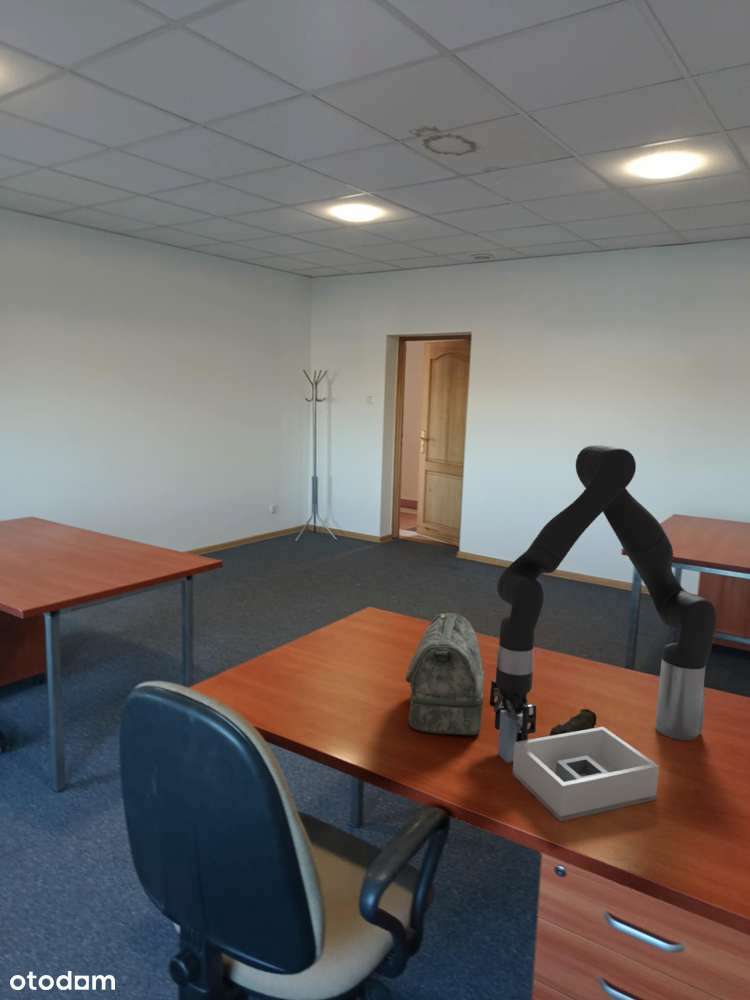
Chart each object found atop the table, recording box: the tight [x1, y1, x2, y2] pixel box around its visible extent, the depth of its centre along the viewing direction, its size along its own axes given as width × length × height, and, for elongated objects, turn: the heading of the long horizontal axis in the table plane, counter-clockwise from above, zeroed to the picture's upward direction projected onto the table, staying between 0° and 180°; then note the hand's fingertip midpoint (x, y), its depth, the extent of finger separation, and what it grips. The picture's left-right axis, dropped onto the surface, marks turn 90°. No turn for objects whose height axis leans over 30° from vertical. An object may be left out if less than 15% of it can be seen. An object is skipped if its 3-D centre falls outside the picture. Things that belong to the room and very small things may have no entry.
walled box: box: [512, 726, 660, 822], centre depth 128 cm, size 22×16×7 cm
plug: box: [497, 710, 523, 764], centre depth 138 cm, size 4×4×10 cm
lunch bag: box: [405, 612, 485, 736], centre depth 158 cm, size 26×18×22 cm
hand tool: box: [549, 708, 597, 736], centre depth 148 cm, size 19×4×5 cm, turn 133°
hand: (510, 738), depth 139 cm, fingers open, 8 cm apart
